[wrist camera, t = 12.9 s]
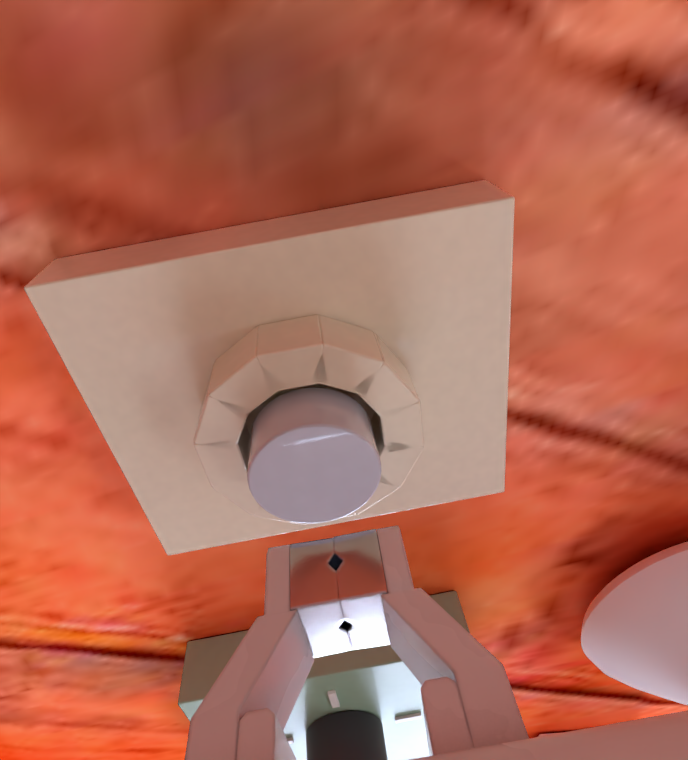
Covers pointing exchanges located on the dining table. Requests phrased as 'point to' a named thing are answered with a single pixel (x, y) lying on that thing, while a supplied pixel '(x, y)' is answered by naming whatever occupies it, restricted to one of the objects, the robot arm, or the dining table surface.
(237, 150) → the dining table surface
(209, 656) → the dial console
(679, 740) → the robot arm
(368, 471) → the grey round knob
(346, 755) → the dial
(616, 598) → the flower in vase
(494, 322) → the button base
